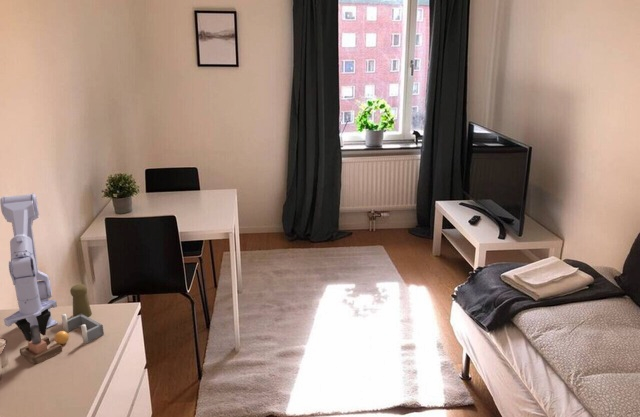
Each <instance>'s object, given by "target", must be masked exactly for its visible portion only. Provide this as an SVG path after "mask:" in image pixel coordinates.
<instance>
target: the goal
mask: <svg viewBox="0 0 640 417" xmlns="http://www.w3.org/2000/svg"><path fill="white" fill-rule="evenodd" d="M61 321H62V327H63V331H65V332H67V333H69V332H70V331H73V330H74V329H76V328H79V327H80V328H81V334H82V341H83V344H85V345H86V344H88V343H90V342H92V341H94V340H96V339H97V338H99V337H102V336H105V332H104V325H103V324H101V322H98V321H95V319H91V318H90V317H86V316H85V315H83V314H80V315H77V316H75V317H73V316H72V317H71V318H69V319H68V318H67V314H66V313H62V314H61Z"/></svg>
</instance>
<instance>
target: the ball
mask: <svg viewBox="0 0 640 417" xmlns="http://www.w3.org/2000/svg"><path fill="white" fill-rule="evenodd" d="M69 339H70V335H69V332H65V331H64V330H60V331H58V332H57V333H55V335H54V341H55V343H56V344H57V345H58V344H60V345H64V344H66V343H67V342H68V341H69Z"/></svg>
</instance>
